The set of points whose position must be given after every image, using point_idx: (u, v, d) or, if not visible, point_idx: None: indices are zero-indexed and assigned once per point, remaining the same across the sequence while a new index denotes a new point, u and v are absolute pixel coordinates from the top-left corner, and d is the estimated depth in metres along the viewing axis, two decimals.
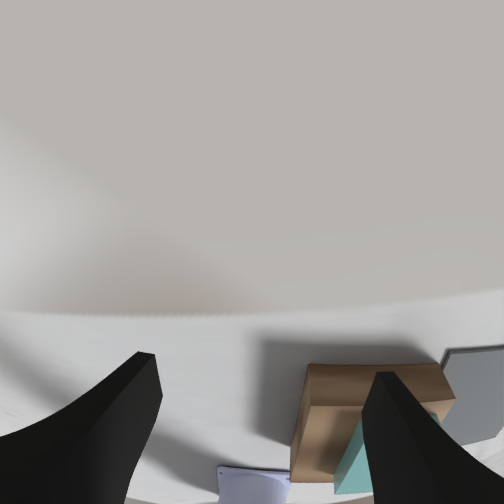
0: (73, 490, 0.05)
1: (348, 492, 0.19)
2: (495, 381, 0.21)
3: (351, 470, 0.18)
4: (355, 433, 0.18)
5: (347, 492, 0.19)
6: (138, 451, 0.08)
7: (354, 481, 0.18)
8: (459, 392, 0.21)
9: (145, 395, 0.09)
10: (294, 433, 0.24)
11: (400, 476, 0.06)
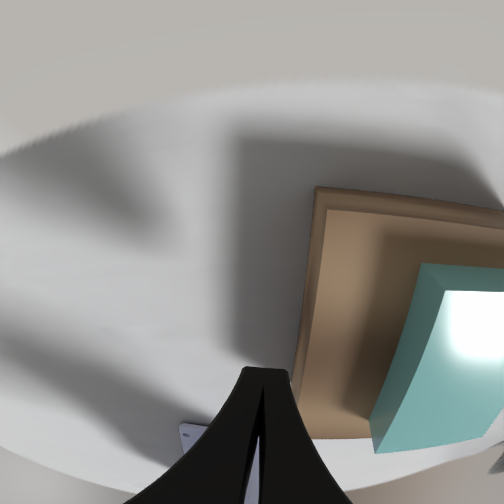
0: None
1: (399, 447, 0.11)
2: None
3: (414, 384, 0.09)
4: (416, 297, 0.10)
5: (397, 448, 0.11)
6: (250, 471, 0.08)
7: (415, 417, 0.10)
8: None
9: (260, 412, 0.09)
10: (297, 348, 0.16)
11: None
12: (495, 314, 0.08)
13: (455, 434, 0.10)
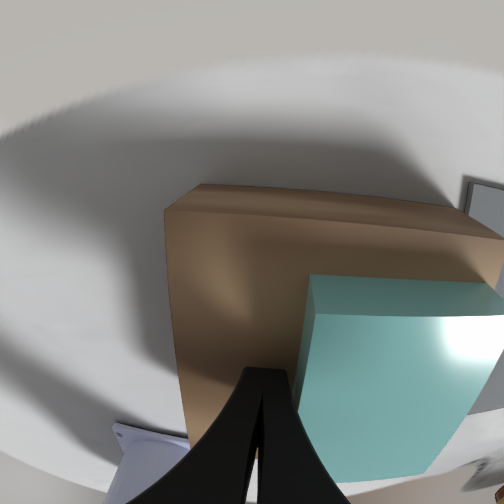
0: None
1: None
2: None
3: (302, 418, 0.08)
4: (305, 315, 0.09)
5: None
6: (251, 471, 0.08)
7: (318, 452, 0.09)
8: (499, 287, 0.12)
9: None
10: None
11: (260, 480, 0.06)
12: (407, 344, 0.07)
13: (382, 471, 0.09)
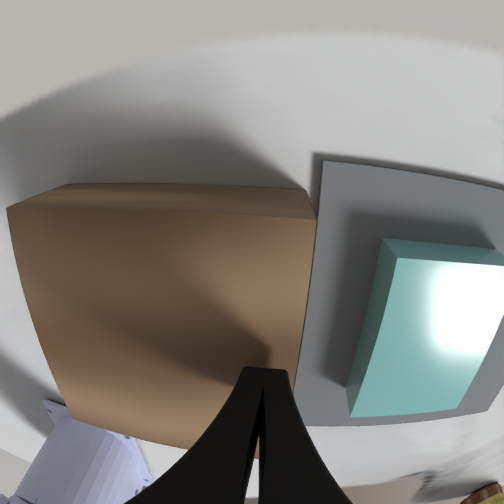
0: None
1: None
2: None
3: None
4: None
5: None
6: (250, 471, 0.08)
7: None
8: None
9: (260, 412, 0.09)
10: None
11: None
12: None
13: None
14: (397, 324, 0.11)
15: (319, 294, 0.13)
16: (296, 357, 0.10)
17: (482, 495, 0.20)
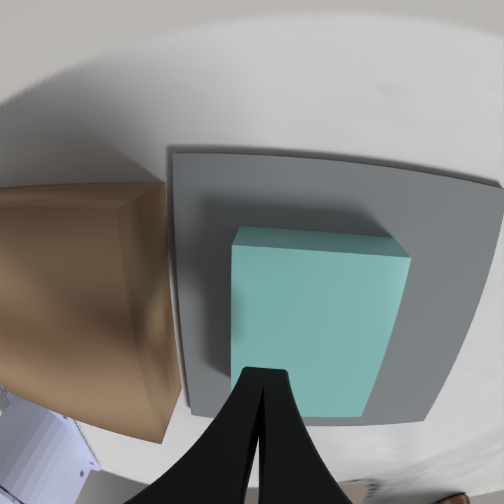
0: None
1: None
2: None
3: None
4: None
5: None
6: (250, 471, 0.08)
7: None
8: None
9: (260, 412, 0.09)
10: None
11: None
12: None
13: None
14: (250, 316, 0.11)
15: (187, 283, 0.13)
16: (133, 338, 0.10)
17: None
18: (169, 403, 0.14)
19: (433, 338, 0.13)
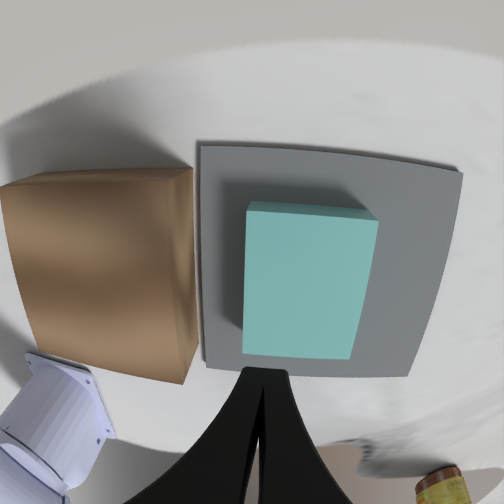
0: None
1: None
2: None
3: None
4: None
5: None
6: (250, 471, 0.08)
7: None
8: None
9: (260, 412, 0.09)
10: None
11: None
12: None
13: None
14: (259, 266, 0.15)
15: (208, 246, 0.17)
16: (170, 282, 0.14)
17: (437, 477, 0.24)
18: (190, 351, 0.18)
19: (407, 295, 0.17)
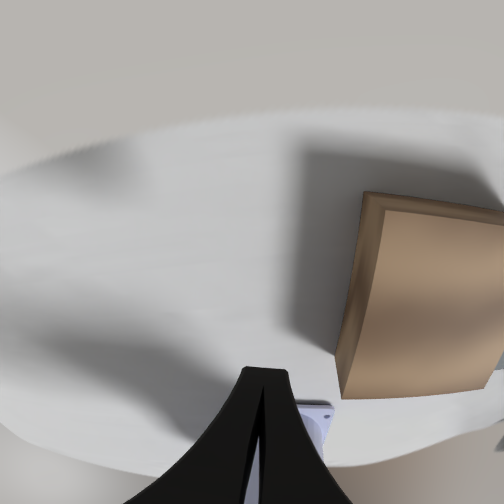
0: None
1: None
2: None
3: None
4: None
5: None
6: (250, 471, 0.08)
7: None
8: None
9: (260, 412, 0.09)
10: (343, 324, 0.19)
11: None
12: None
13: None
14: None
15: None
16: None
17: None
18: None
19: None
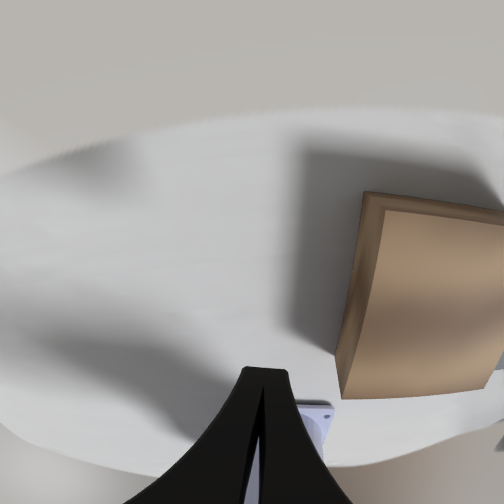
0: None
1: None
2: None
3: None
4: None
5: None
6: (250, 471, 0.08)
7: None
8: None
9: (260, 412, 0.09)
10: (343, 324, 0.19)
11: None
12: None
13: None
14: None
15: None
16: None
17: None
18: None
19: None
